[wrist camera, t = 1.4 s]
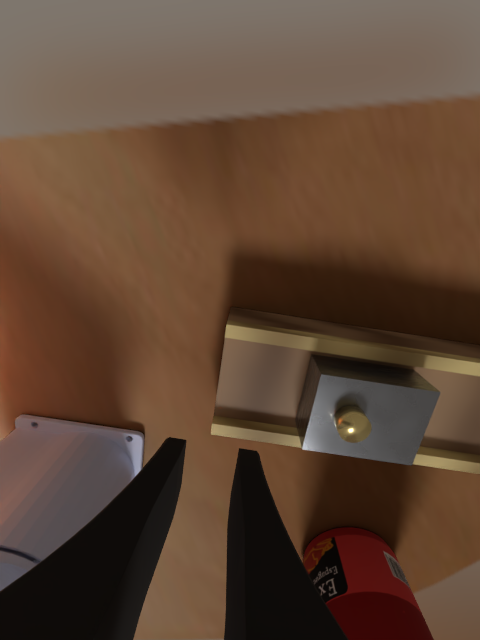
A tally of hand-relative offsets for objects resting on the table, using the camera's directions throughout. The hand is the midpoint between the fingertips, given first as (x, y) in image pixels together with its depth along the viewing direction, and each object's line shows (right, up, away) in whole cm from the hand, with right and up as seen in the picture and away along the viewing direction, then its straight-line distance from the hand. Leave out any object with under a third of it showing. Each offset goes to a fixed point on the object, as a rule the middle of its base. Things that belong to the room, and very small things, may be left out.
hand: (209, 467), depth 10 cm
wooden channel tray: (+9, +1, +10) cm, 14 cm away
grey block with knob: (+8, +1, +7) cm, 11 cm away
